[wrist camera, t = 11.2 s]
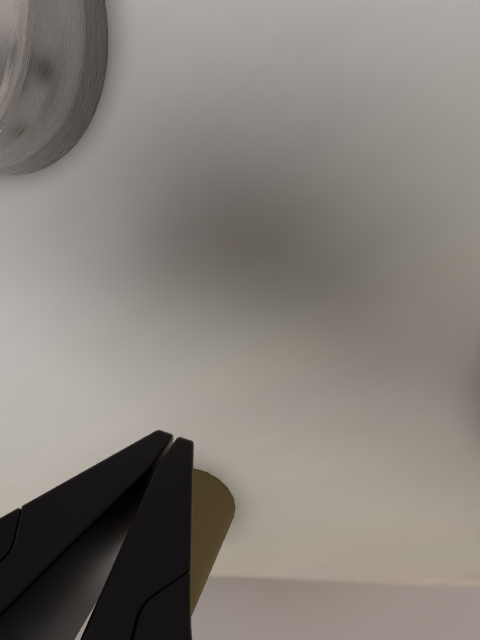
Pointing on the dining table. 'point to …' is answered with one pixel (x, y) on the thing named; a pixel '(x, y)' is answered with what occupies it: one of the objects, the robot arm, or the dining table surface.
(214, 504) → the cork
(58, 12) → the pot
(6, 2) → the lid
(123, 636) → the robot arm
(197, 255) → the dining table surface
